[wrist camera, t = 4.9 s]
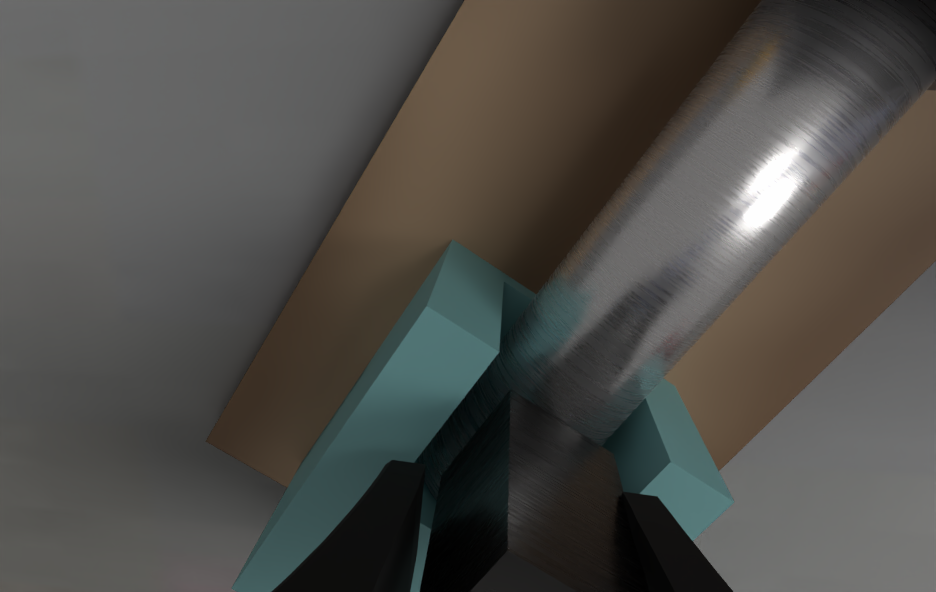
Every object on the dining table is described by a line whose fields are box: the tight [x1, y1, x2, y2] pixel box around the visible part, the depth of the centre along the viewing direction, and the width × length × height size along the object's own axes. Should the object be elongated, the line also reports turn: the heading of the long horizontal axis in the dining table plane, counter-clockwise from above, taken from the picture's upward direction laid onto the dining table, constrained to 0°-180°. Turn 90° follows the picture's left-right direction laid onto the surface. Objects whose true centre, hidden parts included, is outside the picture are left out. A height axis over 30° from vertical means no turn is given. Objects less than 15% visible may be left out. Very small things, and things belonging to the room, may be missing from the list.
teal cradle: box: [231, 240, 734, 592], centre depth 14 cm, size 7×8×4 cm
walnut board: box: [206, 0, 936, 488], centre depth 13 cm, size 12×31×1 cm, turn 147°
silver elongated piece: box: [419, 0, 936, 592], centre depth 9 cm, size 3×14×7 cm, turn 147°
